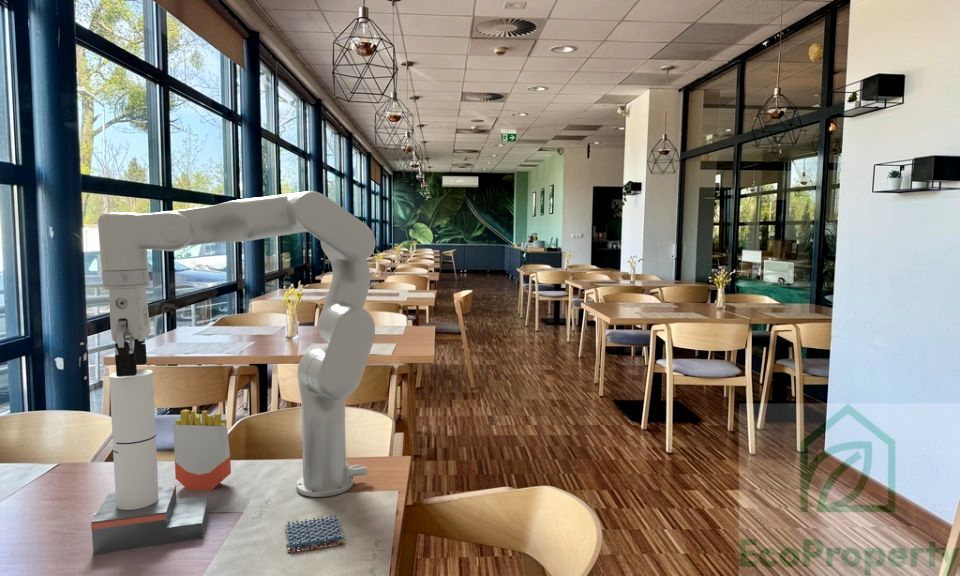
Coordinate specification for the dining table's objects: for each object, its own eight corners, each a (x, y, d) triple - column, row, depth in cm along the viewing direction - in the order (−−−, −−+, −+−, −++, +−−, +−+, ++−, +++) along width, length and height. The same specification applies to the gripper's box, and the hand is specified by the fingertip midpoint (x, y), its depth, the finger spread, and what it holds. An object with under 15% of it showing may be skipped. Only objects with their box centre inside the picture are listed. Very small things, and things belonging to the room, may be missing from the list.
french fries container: (187, 481, 143) (184, 405, 141) (232, 482, 142) (229, 406, 140) (175, 489, 139) (172, 410, 137) (222, 491, 138) (219, 412, 136)
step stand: (208, 508, 129) (207, 481, 128) (202, 538, 116) (201, 508, 116) (110, 521, 123) (108, 492, 122) (92, 554, 110) (90, 522, 110)
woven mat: (338, 522, 124) (338, 512, 124) (345, 547, 114) (345, 537, 114) (284, 530, 121) (284, 520, 120) (286, 557, 111) (286, 546, 110)
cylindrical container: (140, 511, 114) (133, 378, 112) (106, 508, 116) (99, 376, 113) (166, 495, 121) (161, 370, 119) (135, 492, 123) (129, 368, 120)
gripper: (139, 282, 107) (146, 378, 109) (156, 275, 124) (162, 359, 125) (90, 284, 105) (97, 382, 107) (113, 276, 121) (120, 362, 123)
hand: (132, 369), depth 116 cm, fingers open, 9 cm apart
